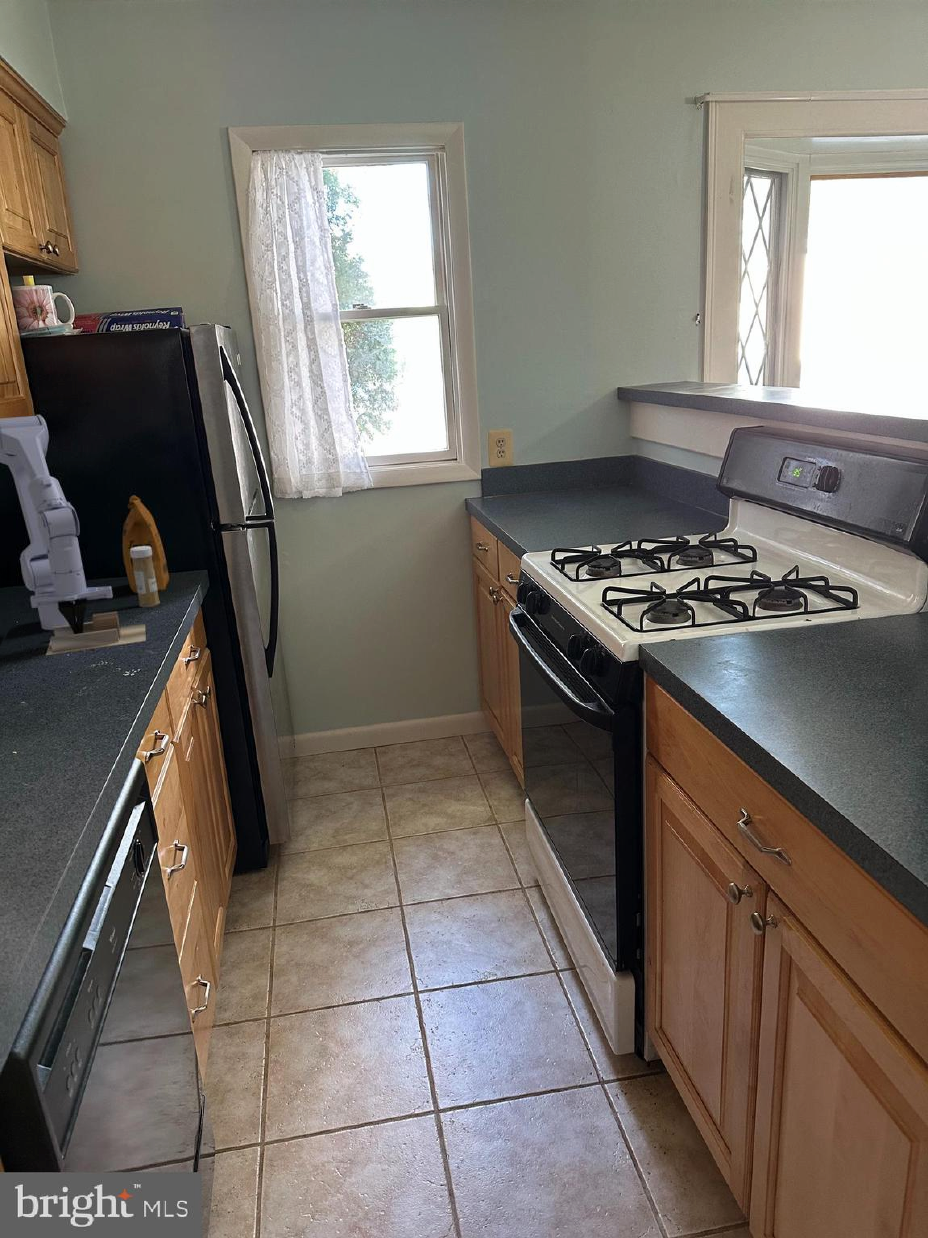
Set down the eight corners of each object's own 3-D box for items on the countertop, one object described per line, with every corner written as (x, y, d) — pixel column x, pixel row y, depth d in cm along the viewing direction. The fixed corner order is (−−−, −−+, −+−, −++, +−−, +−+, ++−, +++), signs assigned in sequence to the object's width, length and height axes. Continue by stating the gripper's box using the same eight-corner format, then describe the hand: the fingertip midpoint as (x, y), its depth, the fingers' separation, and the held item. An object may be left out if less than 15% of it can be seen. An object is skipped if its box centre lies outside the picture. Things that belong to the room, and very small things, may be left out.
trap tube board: (52, 641, 179) (49, 625, 178) (145, 628, 185) (143, 612, 184) (47, 660, 168) (43, 642, 167) (146, 645, 174) (143, 628, 173)
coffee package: (124, 595, 212) (109, 504, 205) (130, 583, 223) (115, 496, 217) (168, 590, 214) (154, 500, 207) (171, 578, 225) (158, 492, 219)
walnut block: (96, 635, 178) (93, 614, 177) (120, 632, 180) (116, 611, 178) (96, 642, 174) (92, 620, 173) (120, 638, 176) (116, 617, 174)
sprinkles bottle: (162, 605, 202) (153, 547, 198) (142, 609, 199) (132, 550, 195) (157, 601, 205) (148, 544, 201) (136, 605, 203) (127, 547, 199)
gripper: (23, 579, 165) (37, 648, 169) (106, 569, 170) (118, 637, 174) (27, 571, 172) (41, 638, 176) (107, 562, 176) (118, 627, 180)
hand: (79, 637), depth 175 cm, fingers closed
